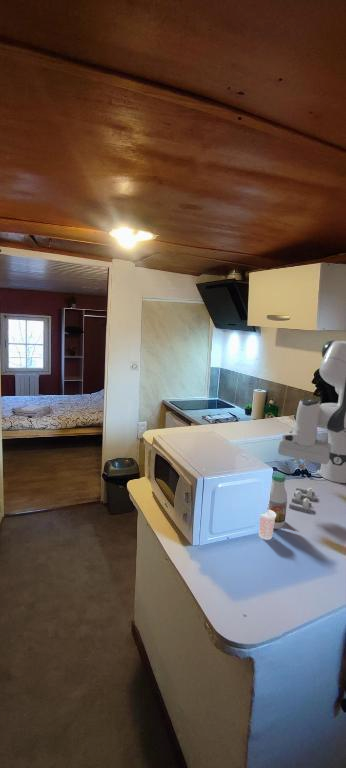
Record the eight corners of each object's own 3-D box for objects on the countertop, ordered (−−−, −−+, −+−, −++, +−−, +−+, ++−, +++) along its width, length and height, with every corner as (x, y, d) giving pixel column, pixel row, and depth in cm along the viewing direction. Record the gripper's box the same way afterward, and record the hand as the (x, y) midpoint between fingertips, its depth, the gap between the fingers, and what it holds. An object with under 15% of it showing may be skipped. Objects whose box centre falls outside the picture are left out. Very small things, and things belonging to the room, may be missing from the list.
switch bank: (295, 490, 171) (296, 485, 170) (316, 495, 166) (316, 490, 166) (286, 512, 149) (287, 506, 149) (309, 518, 145) (310, 512, 145)
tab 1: (295, 497, 160) (296, 489, 160) (300, 499, 160) (301, 490, 159) (294, 500, 158) (295, 491, 157) (299, 501, 157) (300, 493, 156)
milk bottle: (259, 520, 142) (264, 472, 139) (275, 517, 145) (280, 470, 142) (272, 531, 135) (278, 481, 132) (288, 527, 138) (294, 478, 135)
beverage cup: (256, 539, 129) (260, 502, 127) (256, 530, 135) (260, 495, 133) (274, 542, 128) (278, 505, 126) (273, 533, 134) (277, 497, 132)
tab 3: (307, 494, 164) (308, 486, 163) (311, 496, 163) (312, 487, 162) (306, 497, 161) (307, 488, 161) (311, 498, 160) (312, 490, 160)
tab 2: (303, 506, 153) (304, 497, 153) (308, 507, 152) (309, 498, 152) (302, 509, 151) (303, 499, 150) (307, 510, 150) (308, 501, 149)
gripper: (332, 440, 148) (328, 471, 150) (281, 430, 157) (278, 460, 160) (331, 444, 142) (327, 477, 145) (278, 435, 152) (275, 465, 154)
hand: (301, 468), depth 152 cm, fingers closed
